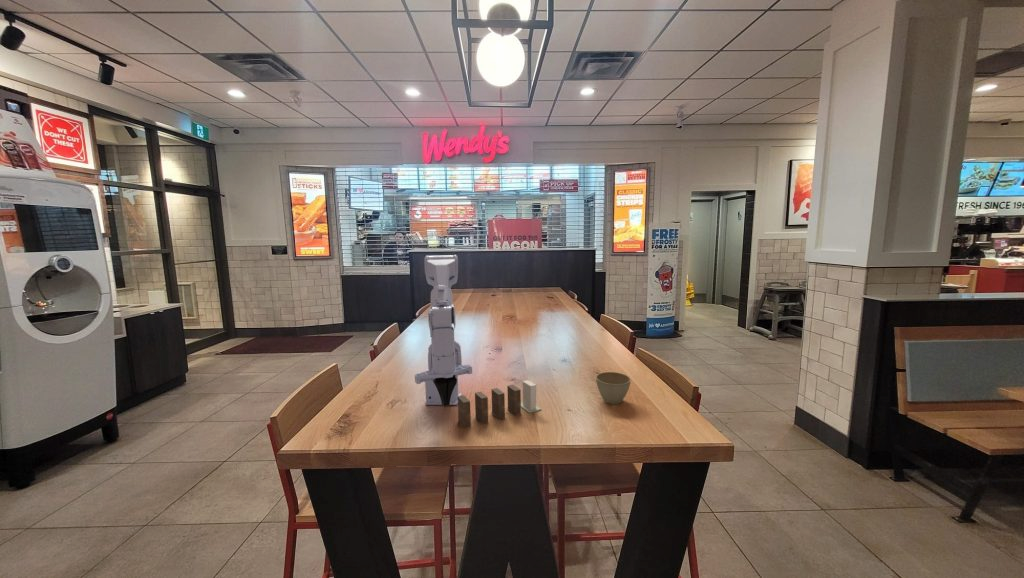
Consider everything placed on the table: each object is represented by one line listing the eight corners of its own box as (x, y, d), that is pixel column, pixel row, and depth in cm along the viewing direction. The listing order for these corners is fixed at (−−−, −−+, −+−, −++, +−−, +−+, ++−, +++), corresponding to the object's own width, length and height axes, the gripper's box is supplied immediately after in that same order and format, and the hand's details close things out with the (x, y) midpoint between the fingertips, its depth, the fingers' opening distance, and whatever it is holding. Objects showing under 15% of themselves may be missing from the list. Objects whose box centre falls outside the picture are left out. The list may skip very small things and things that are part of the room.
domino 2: (482, 423, 102) (481, 398, 101) (475, 417, 106) (474, 392, 105) (488, 422, 103) (487, 397, 102) (481, 415, 107) (480, 391, 106)
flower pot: (589, 401, 115) (589, 378, 114) (606, 391, 122) (606, 369, 121) (620, 411, 108) (620, 386, 107) (636, 400, 116) (636, 377, 115)
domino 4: (515, 415, 107) (514, 390, 106) (507, 409, 111) (507, 385, 110) (520, 413, 108) (520, 389, 107) (513, 407, 112) (512, 384, 111)
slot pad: (529, 413, 108) (529, 412, 108) (517, 404, 114) (517, 403, 114) (541, 409, 110) (541, 408, 110) (529, 401, 115) (529, 400, 115)
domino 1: (464, 428, 100) (463, 402, 99) (458, 421, 104) (457, 396, 103) (470, 426, 101) (470, 401, 100) (464, 419, 105) (463, 395, 104)
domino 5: (530, 409, 109) (530, 386, 108) (522, 404, 113) (522, 381, 112) (536, 408, 110) (536, 384, 109) (528, 402, 114) (527, 380, 113)
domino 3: (499, 419, 105) (498, 394, 104) (492, 413, 109) (491, 389, 108) (504, 417, 106) (504, 393, 105) (497, 411, 109) (497, 387, 108)
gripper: (419, 362, 90) (421, 417, 92) (476, 353, 97) (477, 404, 99) (411, 354, 97) (414, 406, 98) (465, 346, 103) (467, 395, 105)
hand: (445, 404), depth 99 cm, fingers closed
